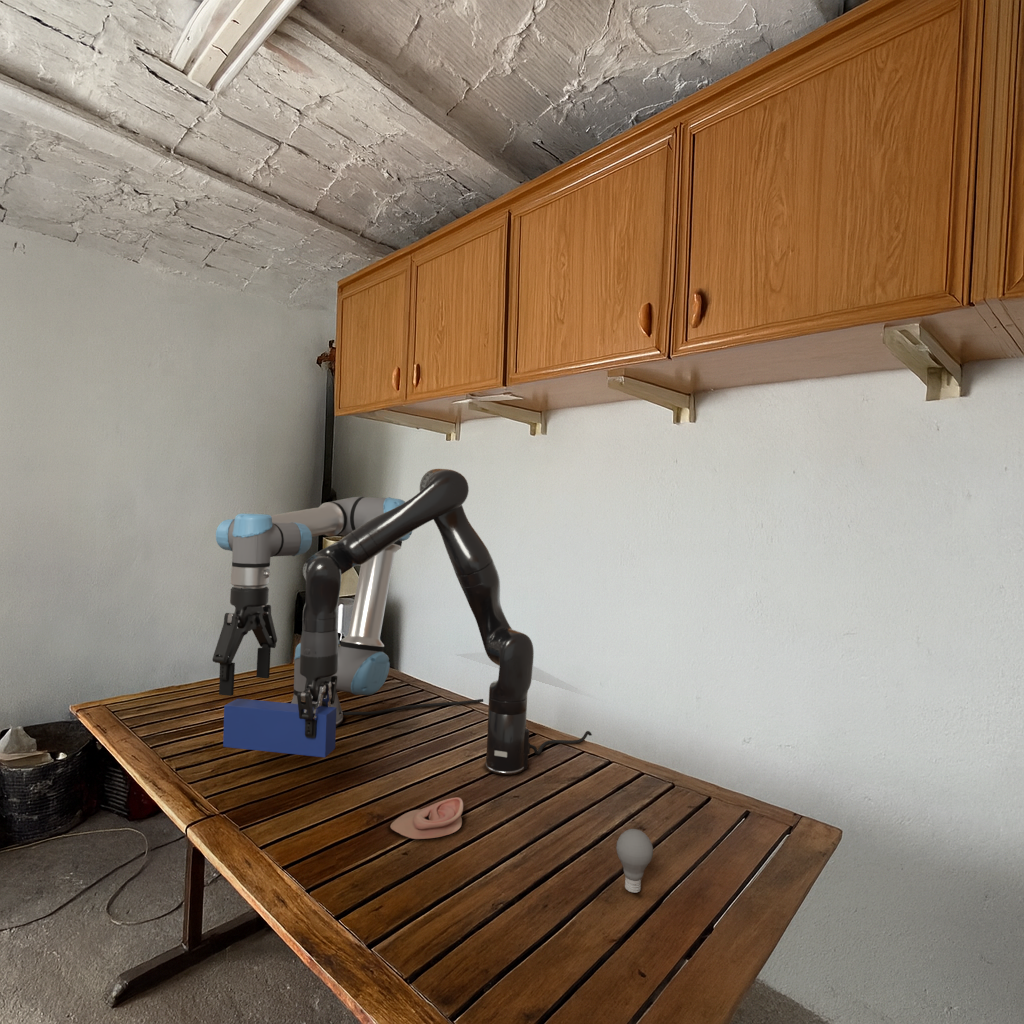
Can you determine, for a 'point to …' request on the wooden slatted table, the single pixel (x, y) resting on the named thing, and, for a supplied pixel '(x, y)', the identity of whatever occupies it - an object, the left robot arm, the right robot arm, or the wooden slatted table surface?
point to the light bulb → (634, 857)
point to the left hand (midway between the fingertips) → (245, 685)
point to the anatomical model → (431, 820)
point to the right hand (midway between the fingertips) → (316, 731)
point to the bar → (277, 728)
